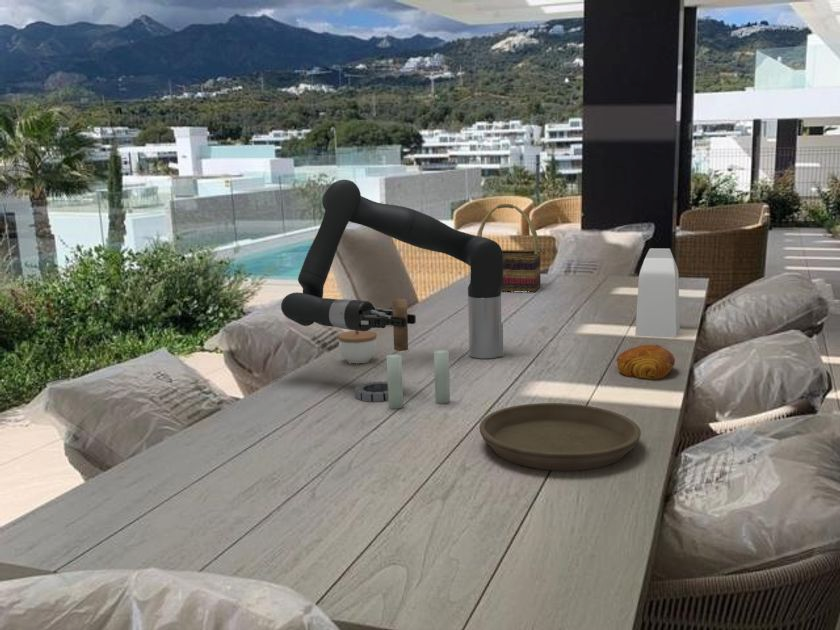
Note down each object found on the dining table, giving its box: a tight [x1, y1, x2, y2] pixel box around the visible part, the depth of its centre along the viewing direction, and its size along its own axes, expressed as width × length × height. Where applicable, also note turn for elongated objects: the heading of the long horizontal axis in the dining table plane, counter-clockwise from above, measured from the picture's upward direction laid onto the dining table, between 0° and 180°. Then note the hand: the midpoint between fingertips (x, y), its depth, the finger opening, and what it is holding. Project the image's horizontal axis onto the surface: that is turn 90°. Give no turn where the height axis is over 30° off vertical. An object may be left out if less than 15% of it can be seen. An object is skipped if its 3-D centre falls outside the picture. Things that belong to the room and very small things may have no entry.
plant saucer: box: [478, 402, 642, 472], centre depth 165 cm, size 31×31×5 cm
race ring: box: [354, 380, 388, 403], centre depth 204 cm, size 11×11×2 cm
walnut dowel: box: [392, 298, 409, 352], centre depth 202 cm, size 3×3×12 cm
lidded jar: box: [337, 330, 377, 365], centre depth 236 cm, size 11×11×9 cm
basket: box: [476, 203, 542, 293], centre depth 342 cm, size 26×15×35 cm, turn 72°
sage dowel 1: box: [386, 353, 404, 410], centre depth 193 cm, size 3×3×12 cm
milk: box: [634, 248, 681, 339], centre depth 257 cm, size 12×12×26 cm
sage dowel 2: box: [433, 349, 451, 405], centre depth 195 cm, size 3×3×12 cm
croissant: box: [616, 344, 676, 380], centre depth 216 cm, size 14×16×8 cm
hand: (410, 321), depth 200 cm, fingers closed on walnut dowel, 3 cm apart
